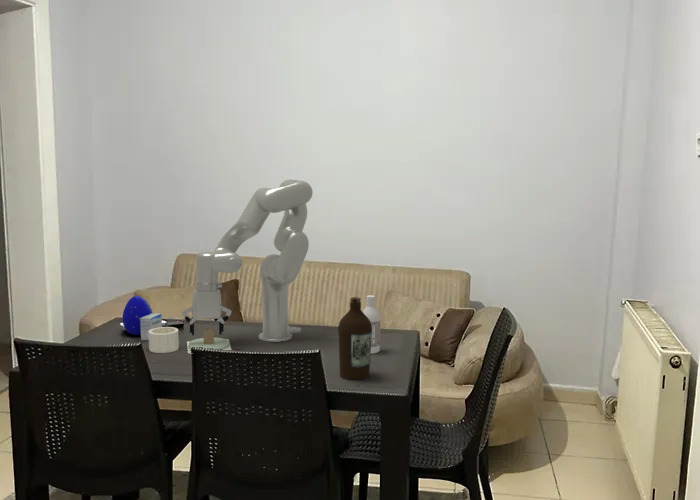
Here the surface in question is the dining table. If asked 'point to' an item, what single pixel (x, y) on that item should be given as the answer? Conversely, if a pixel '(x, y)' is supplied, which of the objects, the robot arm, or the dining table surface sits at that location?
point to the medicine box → (150, 324)
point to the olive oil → (354, 342)
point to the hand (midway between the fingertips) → (206, 334)
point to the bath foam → (373, 323)
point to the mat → (223, 349)
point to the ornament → (135, 314)
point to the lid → (209, 340)
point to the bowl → (163, 340)
